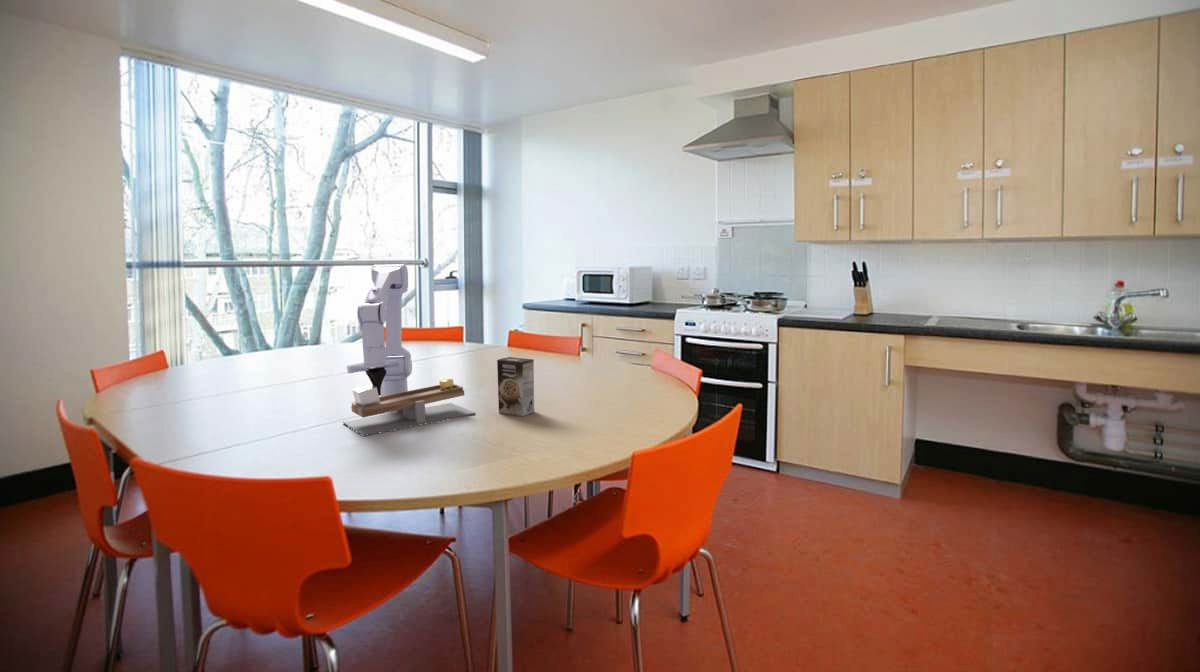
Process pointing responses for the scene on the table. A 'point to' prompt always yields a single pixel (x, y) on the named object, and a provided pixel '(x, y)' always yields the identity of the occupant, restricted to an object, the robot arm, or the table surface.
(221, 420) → the table surface
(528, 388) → the coffee box
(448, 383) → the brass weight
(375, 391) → the steel block
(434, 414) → the beam stand
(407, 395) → the beam
